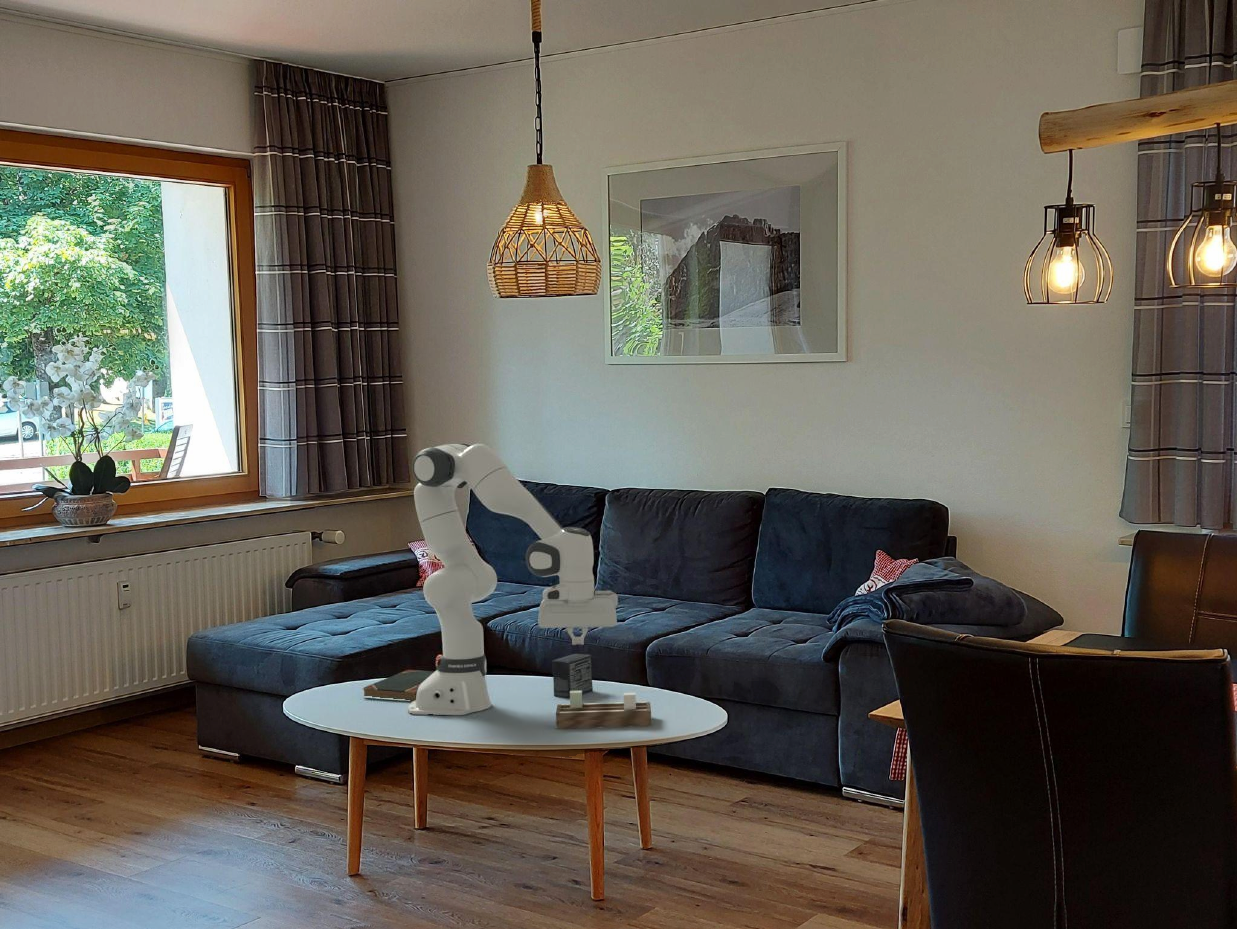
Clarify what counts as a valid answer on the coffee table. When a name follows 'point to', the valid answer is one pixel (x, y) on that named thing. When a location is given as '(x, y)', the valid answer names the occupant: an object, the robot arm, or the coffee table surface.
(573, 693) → the sage tab
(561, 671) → the small box
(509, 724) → the coffee table surface
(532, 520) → the robot arm
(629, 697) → the offwhite block
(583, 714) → the wooden shelf rack
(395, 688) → the book
